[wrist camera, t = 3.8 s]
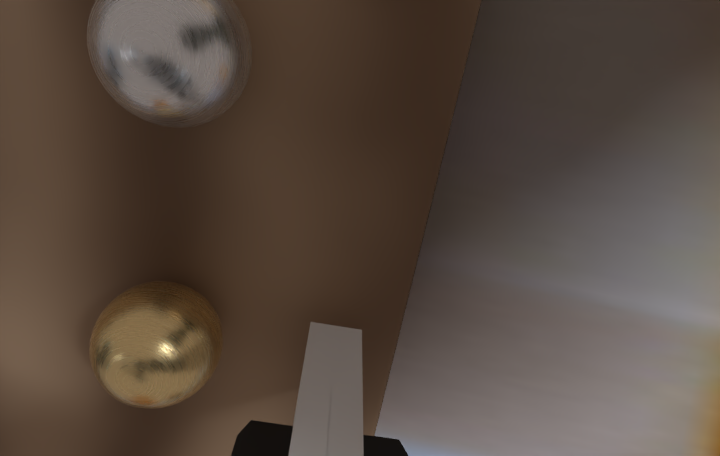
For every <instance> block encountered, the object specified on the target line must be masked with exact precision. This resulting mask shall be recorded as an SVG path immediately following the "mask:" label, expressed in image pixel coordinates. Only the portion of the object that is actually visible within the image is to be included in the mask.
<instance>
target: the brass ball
mask: <svg viewBox="0 0 720 456" xmlns="http://www.w3.org/2000/svg"><path fill="white" fill-rule="evenodd" d="M222 347H223V333H222V326H221V323H220V320H219V317H218V315H217V313H216V311H215V310H214V308H213V306H212V305H211V304H210V303H209V301H208V300H207V299H206V298H205V297H204V296H202V295H201V294H200V293H198V292H197V291H195V290H194V289H192V288H190V287H187V286H185V285H182V284H179V283H174V282H167V281H158V282H149V283H145V284H141V285H138V286H135V287H133V288H130V289H129V290H127V291H125V292H123V293H122V294H120V295H119V296H117V297H116V298H115V299H114V300H113V301H111V302H110V303H109V304H108V305H107V307H106V308H105V309H104V310H103V312H102V313H101V314H100V316H99V318H98V319H97V321H96V323H95V326H94V328H93V331H92V335H91V339H90V347H89V354H90V362H91V366H92V369H93V372H94V374H95V376H96V378H97V380H98V381H99V383H100V384H101V386H102V387H103V388H104V389H105V390H106V391H107V392H108V393H109V394H110V395H111V396H112V397H114V398H115V399H117V400H119V401H121V402H122V403H125V404H127V405H130V406H134V407H138V408H148V409H153V408H163V407H167V406H171V405H174V404H177V403H180V402H182V401H184V400H185V399H187V398H189V397H191V396H192V395H194V394H195V393H196V392H197V391H199V390H200V389H201V388H202V387H203V386H204V385H205V384H206V383H207V381H208V380H209V379H210V378H211V376H212V375H213V373H214V371H215V369H216V367H217V365H218V363H219V360H220V357H221V353H222Z"/></svg>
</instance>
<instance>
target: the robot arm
mask: <svg viewBox="0 0 720 456" xmlns="http://www.w3.org/2000/svg"><path fill="white" fill-rule="evenodd" d="M231 456H408V455H407V453H406V451H405V449H404V448H403V446H402V444H401V442H400V441H399V440H397V439H390V438H383V437H376V436H369V435H363V375H362V330H360V329H354V328H347V327H341V326H334V325H328V324H322V323H315V322H311V323H310V328H309V334H308V340H307V346H306V351H305V357H304V363H303V369H302V375H301V380H300V386H299V392H298V398H297V404H296V410H295V416H294V422H293V426H290V425H283V424H276V423H269V422H262V421H255V420H251V421H250V422H249V423H248V424H247V425H246V426H245V427H244V428H243V429H242V430H241V432H240V433H239V434H238V435H237V437H236V441H235V444H234V447H233V451H232V454H231Z"/></svg>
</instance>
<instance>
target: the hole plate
mask: <svg viewBox="0 0 720 456" xmlns="http://www.w3.org/2000/svg"><path fill="white" fill-rule="evenodd" d="M233 1H234V2H235V4H236V5H237V7H238V9H239V10H240V12H241V14H242V16H243V18H244V20H245V22H246V25H247V28H248V31H249V35H250V40H251V47H252V64H251V70H250V74H249V78H248V81H247V84H246V86H245V88H244V90H243V92H242V93H241V95H240V97H239V98H238V99H237V101H236V102H235V103H234V104H233V105H232V106H231V107H230V108H229V109H228V110H227V111H226V112H224V113H223V114H222V115H220V116H219V117H217V118H215V119H213V120H211V121H209V122H206V123H203V124H200V125H196V126H191V127H168V126H161V125H157V124H153V123H151V122H148V121H145V120H143V119H141V118H139V117H137V116H135V115H134V114H132V113H130V112H129V111H127V110H126V109H124V108H123V107H122V106H121V105H120V104H118V103H117V102H116V101H115V100H114V99H113V98H112V97H111V96H110V94H109V93H108V92H107V91H106V89H105V88H104V87H103V85H102V84H101V82H100V80H99V78H98V77H97V75H96V73H95V70H94V68H93V66H92V63H91V60H90V57H89V52H88V46H87V25H88V20H89V15H90V12H91V9H92V6H93V4H94V2H95V0H0V456H231V454H232V451H233V447H234V444H235V441H236V437H237V435H238V434H239V433H240V432H241V430H242V429H243V428H244V427H245V426H246V425H247V424H248V423H249V422H250V421H251V420H255V421H262V422H269V423H276V424H283V425H290V426H293V422H294V416H295V410H296V404H297V398H298V392H299V386H300V380H301V375H302V369H303V363H304V357H305V351H306V346H307V340H308V334H309V328H310V323H311V322H315V323H322V324H328V325H334V326H341V327H347V328H354V329H360V330H362V375H363V435H369V436H374V434H375V430H376V426H377V422H378V418H379V414H380V410H381V406H382V402H383V398H384V394H385V390H386V386H387V382H388V378H389V374H390V370H391V365H392V361H393V357H394V353H395V349H396V345H397V341H398V337H399V333H400V329H401V325H402V321H403V317H404V313H405V309H406V305H407V301H408V297H409V292H410V288H411V284H412V280H413V276H414V272H415V268H416V264H417V260H418V256H419V252H420V248H421V244H422V240H423V236H424V232H425V228H426V224H427V219H428V215H429V211H430V207H431V203H432V199H433V195H434V191H435V187H436V183H437V179H438V175H439V171H440V167H441V163H442V159H443V155H444V151H445V146H446V142H447V138H448V134H449V130H450V126H451V122H452V118H453V114H454V110H455V106H456V102H457V98H458V94H459V90H460V86H461V82H462V78H463V73H464V69H465V65H466V61H467V57H468V53H469V49H470V45H471V41H472V37H473V33H474V29H475V25H476V21H477V17H478V13H479V9H480V5H481V0H233ZM158 281H167V282H174V283H179V284H182V285H185V286H187V287H190V288H192V289H194V290H195V291H197V292H198V293H200V294H201V295H202V296H204V297H205V298H206V299H207V300H208V301H209V303H210V304H211V305H212V306H213V308H214V310H215V311H216V313H217V315H218V317H219V320H220V323H221V326H222V333H223V347H222V353H221V357H220V360H219V363H218V365H217V367H216V369H215V371H214V373H213V375H212V376H211V378H210V379H209V380H208V381H207V383H206V384H205V385H204V386H203V387H202V388H201V389H200V390H199V391H197V392H196V393H195V394H194V395H192V396H191V397H189V398H187V399H185V400H184V401H182V402H180V403H177V404H174V405H171V406H167V407H163V408H153V409H148V408H138V407H134V406H130V405H127V404H125V403H122V402H121V401H119V400H117V399H115V398H114V397H112V396H111V395H110V394H109V393H108V392H107V391H106V390H105V389H104V388H103V387H102V386H101V384H100V383H99V381H98V380H97V378H96V376H95V374H94V372H93V369H92V366H91V362H90V354H89V347H90V339H91V335H92V331H93V328H94V326H95V323H96V321H97V319H98V318H99V316H100V314H101V313H102V312H103V310H104V309H105V308H106V307H107V305H108V304H109V303H110V302H111V301H113V300H114V299H115V298H116V297H117V296H119V295H120V294H122V293H123V292H125V291H127V290H129V289H130V288H133V287H135V286H138V285H141V284H145V283H149V282H158Z"/></svg>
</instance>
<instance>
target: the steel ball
mask: <svg viewBox="0 0 720 456" xmlns="http://www.w3.org/2000/svg"><path fill="white" fill-rule="evenodd" d="M87 46H88V52H89V57H90V60H91V63H92V66H93V68H94V70H95V73H96V75H97V77H98V78H99V80H100V82H101V84H102V85H103V87H104V88H105V89H106V91H107V92H108V93H109V94H110V96H111V97H112V98H113V99H114V100H115V101H116V102H117V103H118V104H120V105H121V106H122V107H123V108H124V109H126V110H127V111H129V112H130V113H132V114H134V115H135V116H137V117H139V118H141V119H143V120H145V121H148V122H151V123H153V124H157V125H161V126H168V127H191V126H196V125H200V124H203V123H206V122H209V121H211V120H213V119H215V118H217V117H219V116H220V115H222V114H223V113H224V112H226V111H227V110H228V109H229V108H230V107H231V106H232V105H233V104H234V103H235V102H236V101H237V99H238V98H239V97H240V95H241V93H242V92H243V90H244V88H245V86H246V84H247V81H248V78H249V74H250V70H251V64H252V47H251V40H250V35H249V31H248V28H247V25H246V22H245V20H244V18H243V16H242V14H241V12H240V10H239V9H238V7H237V5H236V4H235V2H234V1H233V0H95V2H94V4H93V6H92V9H91V12H90V15H89V20H88V25H87Z"/></svg>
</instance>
